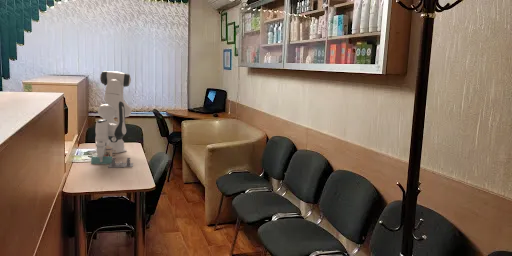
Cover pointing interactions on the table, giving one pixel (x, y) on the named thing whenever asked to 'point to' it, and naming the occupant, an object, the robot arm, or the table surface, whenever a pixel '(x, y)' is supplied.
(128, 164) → the display stand
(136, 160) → the table surface
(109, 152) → the teacup with lid
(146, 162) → the table surface
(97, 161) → the frame bar
